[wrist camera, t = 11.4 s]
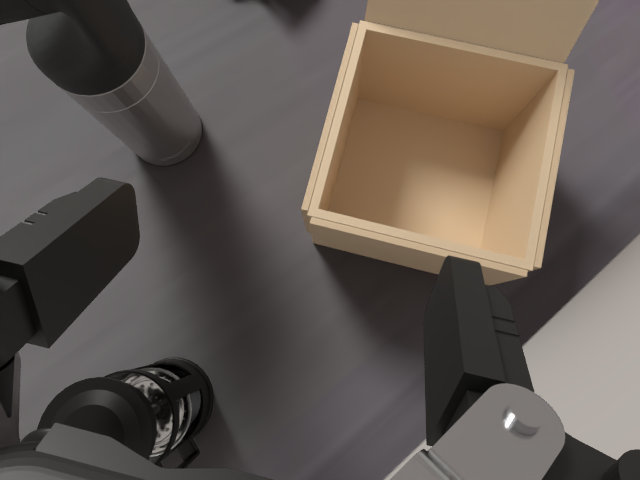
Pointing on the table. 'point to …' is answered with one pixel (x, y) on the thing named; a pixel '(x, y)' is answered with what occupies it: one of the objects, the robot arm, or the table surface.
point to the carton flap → (492, 22)
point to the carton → (439, 153)
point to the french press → (137, 409)
